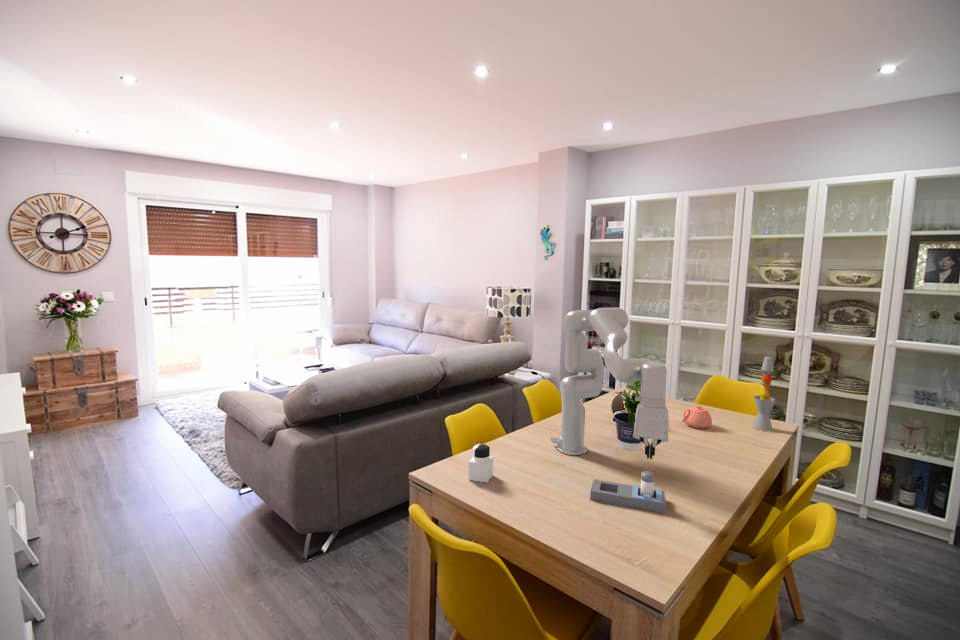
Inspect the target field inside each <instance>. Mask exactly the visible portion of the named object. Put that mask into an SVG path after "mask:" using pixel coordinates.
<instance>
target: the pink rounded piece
mask: <svg viewBox="0 0 960 640" xmlns="http://www.w3.org/2000/svg"><path fill="white" fill-rule="evenodd" d="M682 415H683V417H682V418H681V422H683V423H685V424H686V425H687V426H689V427H692V428H693V427H696V428H695V429H707V428H709V427H710V426H712V424H713V421H712V416H711V415H710V413H709V410H708V409H706V408H705V407H702V405H701V404H700V405H699V404H697V405H695V406H691V407H689V408H685V409H684V410H683V411H682Z"/></svg>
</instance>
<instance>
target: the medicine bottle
mask: <svg viewBox="0 0 960 640" xmlns="http://www.w3.org/2000/svg"><path fill="white" fill-rule="evenodd" d="M490 449H491V448H490V446H489V445H488V444H485V443H477V444H476V445H474V446H473V447H472V457H471V459H469V461H468V481H471V480H473V481H472V482H477V481H480V482H479V483H482V482H486V483H485V484H488V482H489V481H490V480H491V479H492V477H493V476H492V475H494V456H490V453H491V452H490Z"/></svg>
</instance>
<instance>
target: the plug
mask: <svg viewBox="0 0 960 640" xmlns="http://www.w3.org/2000/svg"><path fill="white" fill-rule="evenodd" d="M640 474H641V475H640V486H641V491H640V496H644V494H645V495H651V498H653V494H654V488H655V477H656V476H655V473H654V472H652V471H650V470H642V471H641V472H640Z"/></svg>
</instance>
